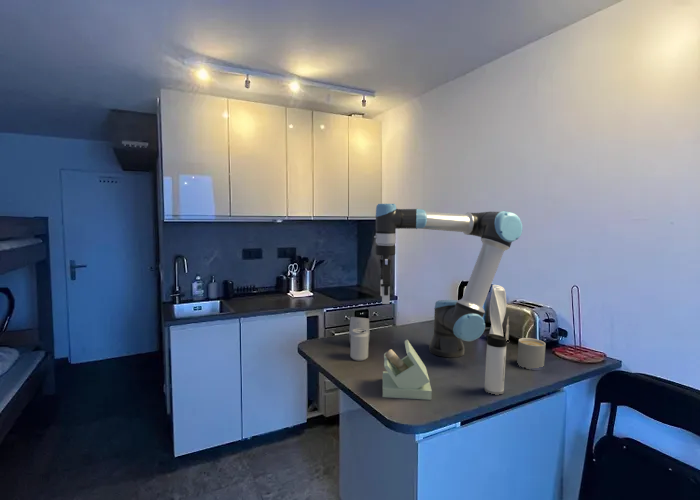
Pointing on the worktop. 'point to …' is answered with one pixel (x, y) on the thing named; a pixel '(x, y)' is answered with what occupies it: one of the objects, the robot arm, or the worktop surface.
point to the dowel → (396, 361)
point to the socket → (407, 378)
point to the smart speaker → (358, 325)
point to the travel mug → (495, 364)
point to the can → (359, 344)
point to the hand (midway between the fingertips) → (384, 299)
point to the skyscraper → (498, 311)
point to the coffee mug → (531, 353)
